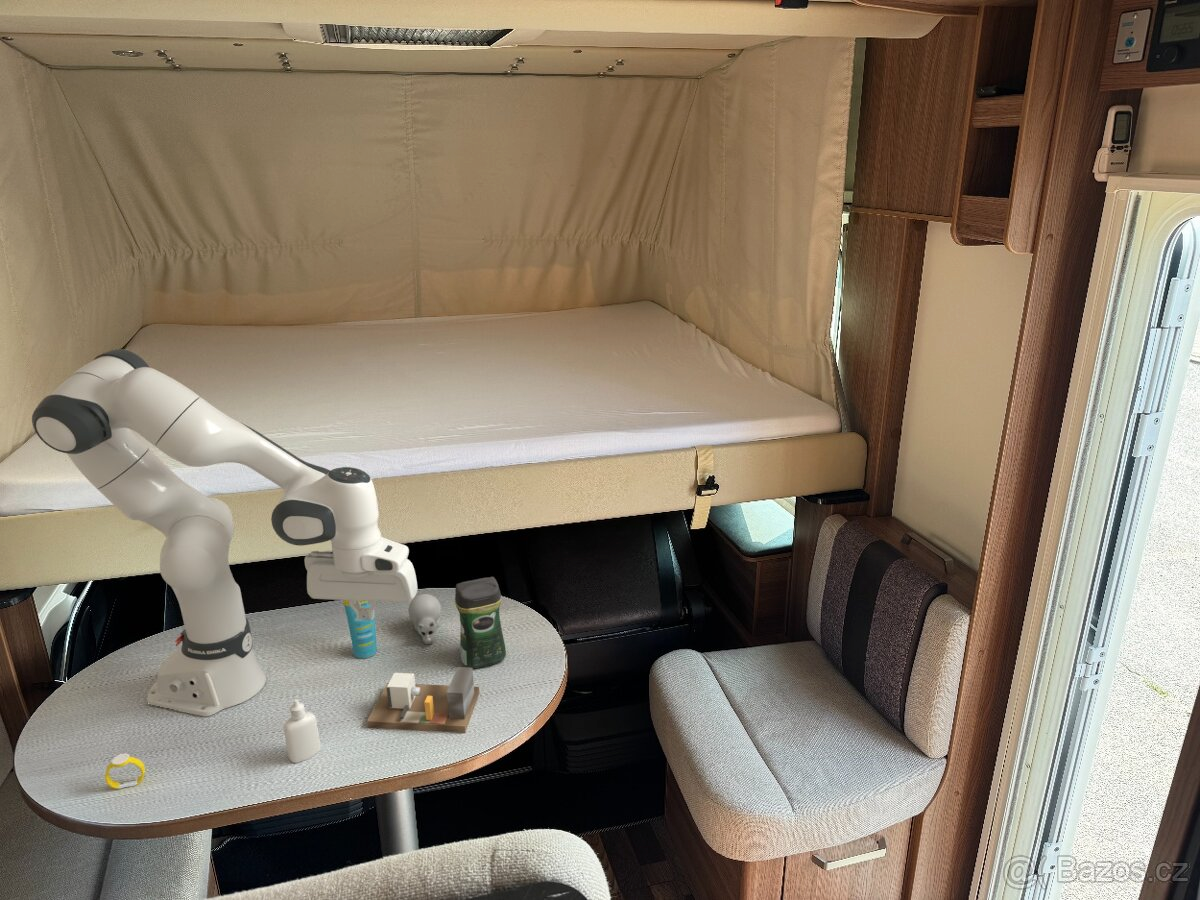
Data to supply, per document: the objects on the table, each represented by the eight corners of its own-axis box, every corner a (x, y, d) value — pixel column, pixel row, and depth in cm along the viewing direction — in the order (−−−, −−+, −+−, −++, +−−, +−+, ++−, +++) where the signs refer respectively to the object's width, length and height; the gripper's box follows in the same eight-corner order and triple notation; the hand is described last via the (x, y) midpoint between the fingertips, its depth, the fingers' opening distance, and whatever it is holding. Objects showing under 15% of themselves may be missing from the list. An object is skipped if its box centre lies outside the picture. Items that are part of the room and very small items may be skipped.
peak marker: (426, 719, 162) (424, 702, 161) (429, 712, 164) (427, 695, 163) (431, 720, 162) (429, 702, 161) (434, 713, 164) (432, 695, 163)
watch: (109, 796, 148) (98, 769, 146) (112, 785, 151) (101, 758, 149) (147, 785, 150) (137, 759, 148) (149, 774, 152) (139, 748, 150)
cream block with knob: (383, 719, 163) (380, 697, 161) (396, 693, 170) (393, 672, 168) (412, 720, 162) (409, 699, 161) (424, 694, 170) (421, 673, 168)
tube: (352, 663, 183) (341, 585, 176) (345, 652, 187) (334, 575, 180) (386, 651, 187) (376, 574, 180) (378, 641, 191) (368, 565, 184)
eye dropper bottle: (290, 749, 158) (280, 695, 154) (321, 743, 160) (313, 690, 155) (288, 765, 154) (278, 710, 150) (320, 759, 156) (311, 705, 151)
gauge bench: (367, 727, 164) (363, 695, 161) (388, 688, 175) (384, 657, 172) (465, 732, 162) (462, 700, 159) (479, 693, 173) (477, 661, 170)
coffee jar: (500, 643, 189) (495, 569, 182) (509, 663, 182) (504, 586, 176) (457, 652, 186) (450, 577, 179) (464, 673, 179) (457, 596, 172)
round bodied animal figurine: (412, 656, 190) (408, 633, 184) (409, 612, 198) (406, 589, 192) (445, 651, 191) (442, 628, 185) (441, 607, 200) (438, 585, 194)
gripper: (296, 558, 155) (305, 624, 160) (406, 563, 153) (412, 629, 158) (310, 542, 160) (319, 606, 165) (416, 547, 159) (422, 611, 164)
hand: (365, 618), depth 162 cm, fingers closed
